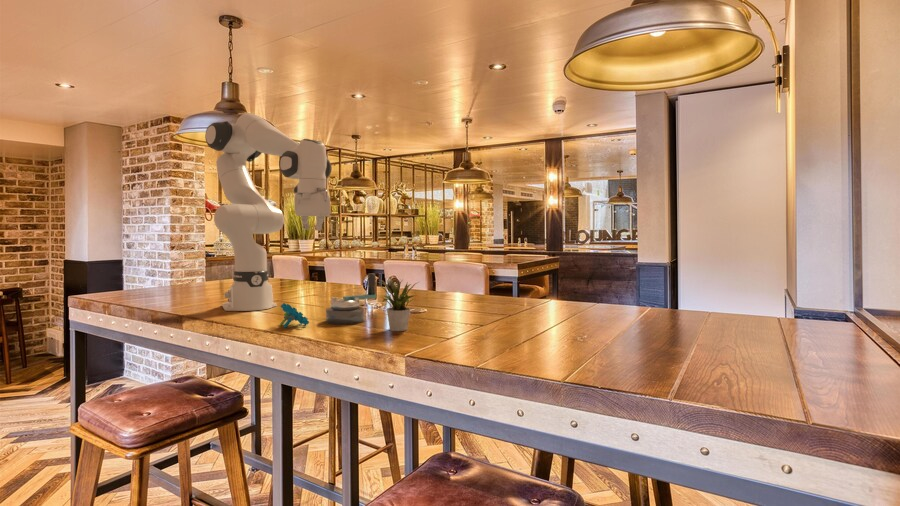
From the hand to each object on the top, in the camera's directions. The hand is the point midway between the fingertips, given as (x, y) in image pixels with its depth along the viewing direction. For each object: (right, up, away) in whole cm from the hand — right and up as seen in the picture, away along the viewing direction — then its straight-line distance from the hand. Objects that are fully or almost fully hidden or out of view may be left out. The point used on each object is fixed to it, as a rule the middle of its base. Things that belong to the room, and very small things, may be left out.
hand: (312, 230), depth 163 cm
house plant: (+29, -31, -17) cm, 46 cm away
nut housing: (+12, -30, -4) cm, 33 cm away
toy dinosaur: (-2, -31, -13) cm, 33 cm away
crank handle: (+15, -26, -2) cm, 30 cm away
